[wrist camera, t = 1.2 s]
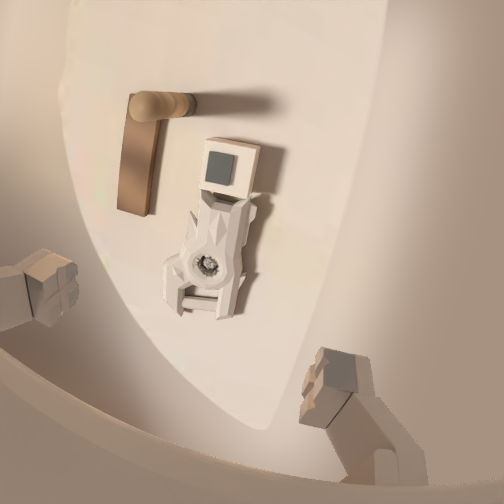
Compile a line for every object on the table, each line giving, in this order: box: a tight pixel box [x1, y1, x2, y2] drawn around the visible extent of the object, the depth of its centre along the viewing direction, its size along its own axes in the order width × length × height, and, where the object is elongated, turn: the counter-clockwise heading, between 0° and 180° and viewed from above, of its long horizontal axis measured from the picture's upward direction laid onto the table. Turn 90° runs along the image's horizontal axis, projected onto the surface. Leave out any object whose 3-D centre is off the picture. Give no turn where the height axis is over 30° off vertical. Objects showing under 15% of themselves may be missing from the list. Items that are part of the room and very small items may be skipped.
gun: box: [163, 189, 257, 320], centre depth 36 cm, size 18×3×10 cm
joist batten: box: [117, 94, 161, 217], centre depth 33 cm, size 14×4×1 cm, turn 167°
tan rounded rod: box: [129, 91, 197, 122], centre depth 26 cm, size 3×3×9 cm
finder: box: [198, 137, 261, 199], centre depth 31 cm, size 5×5×3 cm
